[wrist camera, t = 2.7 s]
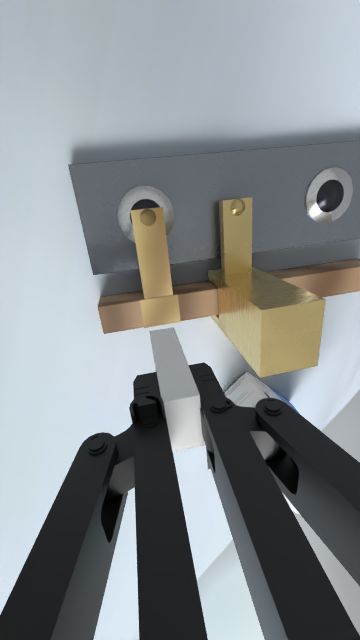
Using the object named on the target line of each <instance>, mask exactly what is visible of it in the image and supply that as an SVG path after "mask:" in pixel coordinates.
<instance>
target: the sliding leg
mask: <svg viewBox="0 0 360 640" xmlns="http://www.w3.org/2000/svg"><path fill="white" fill-rule="evenodd" d="M219 216H220V243H221V269H215V270H208V279H209V280H210V281H211V282H213V283H214V284H215V285H216V286H217V287H218V308H219V315H214V316H211V318H212V319H213V320H214V321H215V323H216V324H217V325H218V326H219V327H220V329H221V330H222V331H223V332H224V334H225V335H226V336H227V337H228V339H229V340H230V341H231V342H232V344H233V345H234V346H235V347H236V349H237V350H238V351H239V352H240V354H241V355H242V356H243V357H244V359H245V360H246V361H247V362H248V364H249V365H250V366H251V367H252V368H253V370H254V371H255V372H256V373H257V375H258V376H259V377H260V378H261V377H266V376H271V375H276V374H280V373H285V372H290V371H295V370H300V369H305V368H310V367H315V366H317V365H318V357H319V348H320V340H321V332H322V324H323V316H324V307H325V299H323V298H321V297H319V296H317V295H315V294H312V293H310V292H308V291H306V290H304V289H301V288H299V287H297V286H295V285H293V284H290V283H288V282H286V281H284V280H282V279H279V278H277V277H275V276H273V275H271V274H268V273H266V272H264V271H262V270H260V269H257V268H255V267H253V266H252V197H251V198H240V199H231V200H222V201H219Z"/></svg>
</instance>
